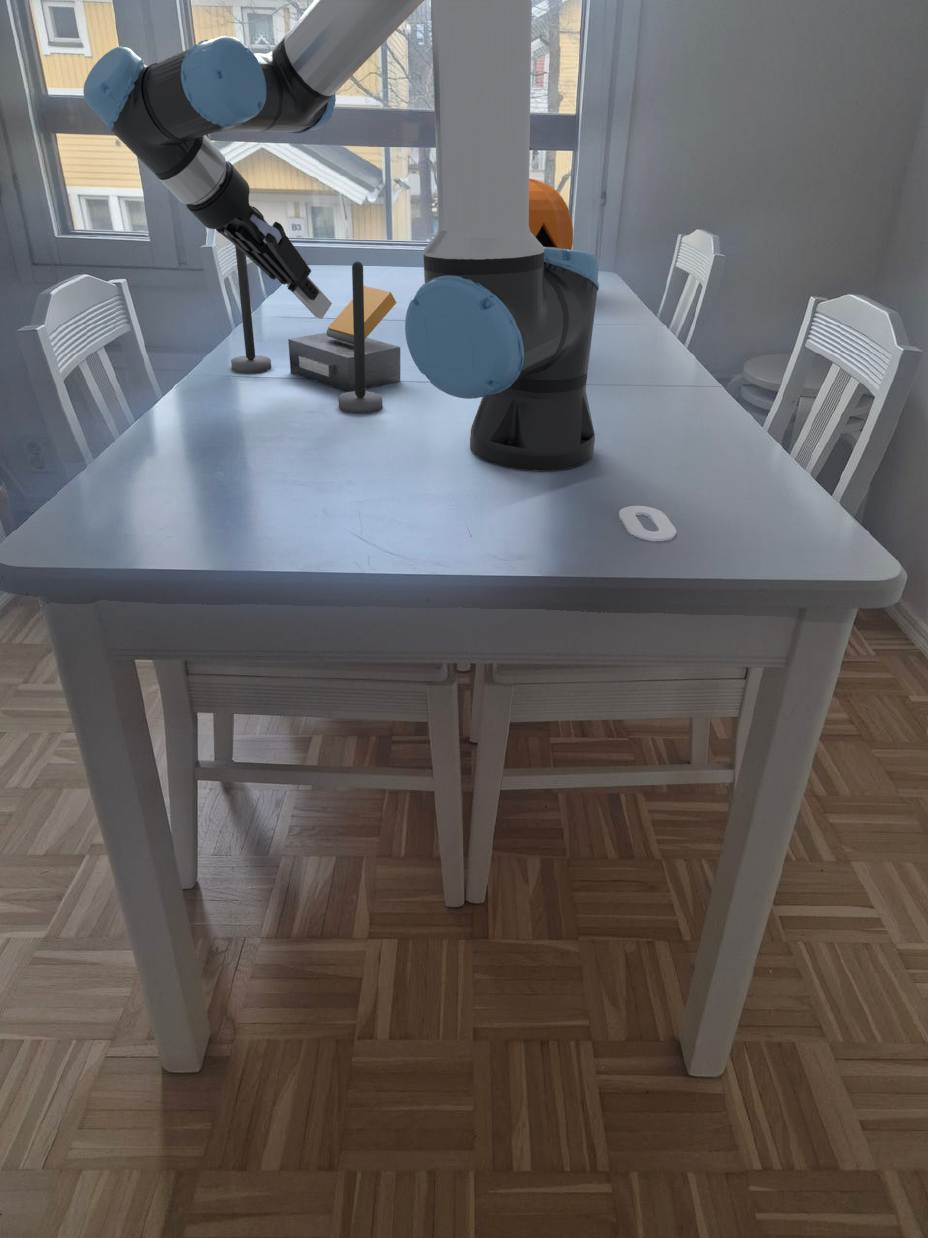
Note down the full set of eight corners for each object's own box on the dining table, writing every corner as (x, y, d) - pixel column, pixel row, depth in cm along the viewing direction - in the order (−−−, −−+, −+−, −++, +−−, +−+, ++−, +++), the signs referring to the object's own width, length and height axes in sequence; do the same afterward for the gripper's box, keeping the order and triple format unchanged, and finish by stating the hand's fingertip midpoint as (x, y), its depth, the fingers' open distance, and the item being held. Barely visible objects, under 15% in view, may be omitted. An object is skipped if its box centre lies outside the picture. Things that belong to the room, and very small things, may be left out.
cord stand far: (273, 372, 129) (262, 240, 119) (232, 373, 127) (218, 240, 117) (269, 362, 133) (258, 234, 124) (230, 363, 132) (216, 234, 122)
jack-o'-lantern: (429, 297, 184) (431, 140, 169) (466, 278, 207) (471, 138, 192) (554, 309, 178) (568, 147, 162) (578, 288, 201) (592, 144, 185)
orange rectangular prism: (351, 338, 122) (391, 292, 124) (323, 330, 126) (363, 285, 128) (357, 348, 123) (397, 302, 126) (330, 340, 127) (369, 296, 129)
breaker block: (344, 393, 120) (343, 358, 117) (286, 373, 128) (283, 339, 126) (400, 380, 127) (400, 346, 124) (341, 362, 135) (340, 329, 132)
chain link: (657, 510, 89) (612, 510, 88) (658, 505, 89) (613, 505, 88) (682, 543, 82) (633, 544, 82) (683, 538, 82) (634, 539, 81)
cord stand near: (387, 411, 114) (386, 265, 104) (343, 414, 112) (338, 266, 102) (376, 398, 118) (375, 256, 108) (334, 400, 117) (329, 257, 107)
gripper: (252, 160, 98) (366, 296, 117) (194, 153, 105) (310, 281, 124) (217, 212, 97) (338, 340, 116) (161, 202, 105) (283, 323, 124)
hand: (323, 310), depth 120 cm, fingers closed
